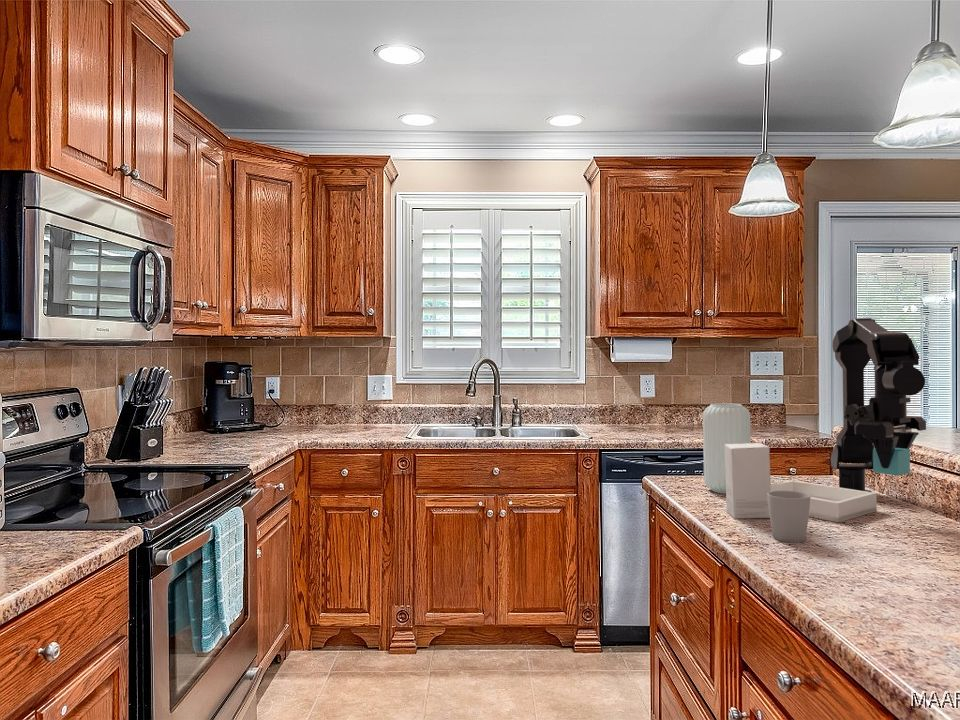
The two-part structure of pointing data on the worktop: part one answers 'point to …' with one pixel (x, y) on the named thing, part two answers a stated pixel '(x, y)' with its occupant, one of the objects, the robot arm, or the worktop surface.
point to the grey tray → (832, 500)
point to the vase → (722, 439)
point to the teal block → (894, 463)
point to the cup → (789, 515)
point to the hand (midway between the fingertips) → (891, 466)
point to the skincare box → (747, 480)
